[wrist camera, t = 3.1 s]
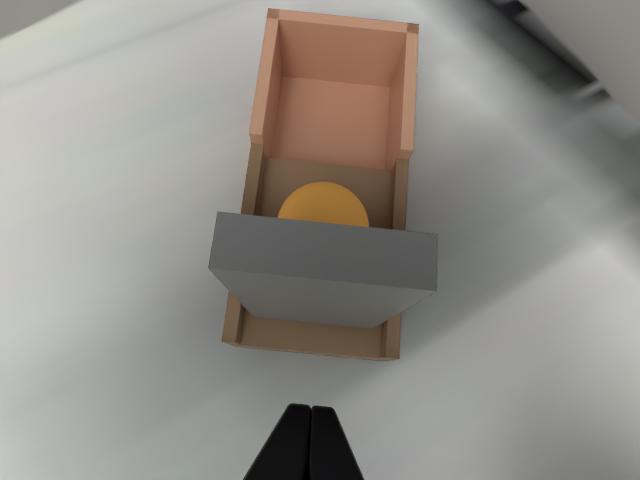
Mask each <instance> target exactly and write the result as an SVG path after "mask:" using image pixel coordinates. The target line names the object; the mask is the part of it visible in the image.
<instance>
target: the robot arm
mask: <svg viewBox="0 0 640 480" xmlns="http://www.w3.org/2000/svg"><path fill="white" fill-rule="evenodd" d="M243 480H364V478H363V475H362V473H361V471H360V468H359V466H358V464H357V461H356V459H355V457H354V454H353V452H352V450H351V447H350V445H349V443H348V440H347V438H346V436H345V433H344V431H343V428H342V426H341V424H340V421H339V419H338V417H337V414H336V412H335V410H334V409H333V408H331V407H324V406H313V407H312V408H310V406H309V405H304V404H294V403H292V404H289V405H288V406H287V408H286V409H285V411H284V413H283V414H282V416H281V418H280V419H279V421H278V423H277V424H276V426H275V428H274V429H273V431H272V433H271V434H270V436H269V437H268V439H267V441H266V442H265V444H264V446H263V447H262V449H261V451H260V452H259V454H258V456H257V457H256V459H255V461H254V462H253V464H252V465H251V467H250V469H249V470H248V472H247V474H246V475H245V477H244V479H243Z"/></svg>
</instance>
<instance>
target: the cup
mask: <svg viewBox="0 0 640 480" xmlns="http://www.w3.org/2000/svg"><path fill="white" fill-rule="evenodd" d="M418 32H419V24H413V23H403V22H394V21H384V20H375V19H365V18H356V17H346V16H337V15H328V14H318V13H309V12H299V11H290V10H280V9H271V8H268V14H267V20H266V27H265V33H264V40H263V46H262V53H261V59H260V66H259V73H258V79H257V86H256V92H255V99H254V105H253V112H252V119H251V125H250V132H249V135H250V139H251V143H255V144H263V145H264V150H265V156H266V157H269V158H278V159H288V160H298V161H307V162H317V163H327V164H336V165H346V166H356V167H365V168H375V169H385V170H392V167H393V165H394V163H395V161H396V158H401V159H409V158H410V156H411V154H412V152H413V143H414V121H415V99H416V76H417V54H418Z"/></svg>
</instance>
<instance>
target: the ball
mask: <svg viewBox="0 0 640 480" xmlns="http://www.w3.org/2000/svg"><path fill="white" fill-rule="evenodd" d="M278 218H284V219H294V220H304V221H314V222H324V223H333V224H343V225H353V226H363V227H369V222H368V216H367V213H366V210H365V208H364V206H363V204H362V203H361V201H360V200H359V199H358V198H357V197H356V195H354V194H353V193H352V192H351V191H350V190H348V189H347V188H345V187H343V186H341V185H338V184H335V183H331V182H314V183H310V184H307V185H304V186H302V187H301V188H299V189H297V190H296V191H294V192H293V193H292V194H291V195H290V196H289V197H288V198H287V199H286V200H285V202H284V204H283V205H282V207H281V209H280V211H279V214H278Z"/></svg>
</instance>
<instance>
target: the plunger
mask: <svg viewBox="0 0 640 480" xmlns="http://www.w3.org/2000/svg"><path fill="white" fill-rule="evenodd" d="M437 248H438V234H431V233H422V232H412V231H402V230H392V229H382V228H373V227H363V226H353V225H343V224H333V223H324V222H314V221H304V220H294V219H284V218H275V217H265V216H255V215H245V214H235V213H226V212H217V218H216V224H215V230H214V236H213V243H212V249H211V255H210V261H209V267H208V268H209V269H210V270H211V272H212V273H213V274H214V275H215V276H216V277H217V278H218V279H219V280H220V281H221V282H222V283H223V285H224V286H225V287H226V288H227V289H228V290H229V291H230V292H231V293H232V294H233V295H234V296H235V297H236V299H237V300H238V301H239V302H240V303H241V304H242V305H243V306H244V307H245V308H246V309H247V310H248V312H249V313H250V314H251V315H252V316H253V317H256V318H266V319H276V320H286V321H295V322H305V323H315V324H325V325H335V326H345V327H355V328H365V329H373V328H375V327H377V326H378V325H380V324H382V323H383V322H385V321H387V320H388V319H390V318H392V317H394V316H395V315H397V314H399V313H400V312H402V311H404V310H405V309H407V308H409V307H410V306H412V305H414V304H415V303H417V302H419V301H420V300H422V299H424V298H426V297H427V296H429V295H431V294H432V293H434V292H436V284H437Z"/></svg>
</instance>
